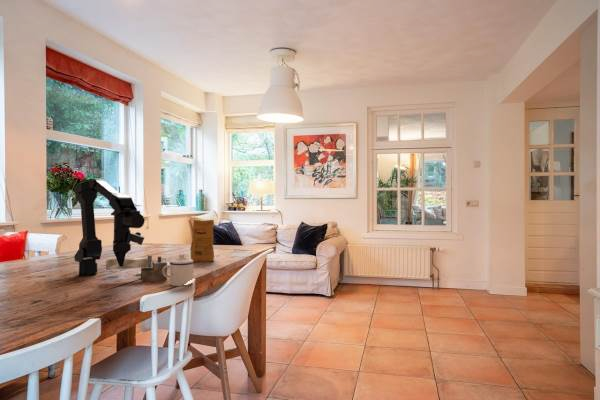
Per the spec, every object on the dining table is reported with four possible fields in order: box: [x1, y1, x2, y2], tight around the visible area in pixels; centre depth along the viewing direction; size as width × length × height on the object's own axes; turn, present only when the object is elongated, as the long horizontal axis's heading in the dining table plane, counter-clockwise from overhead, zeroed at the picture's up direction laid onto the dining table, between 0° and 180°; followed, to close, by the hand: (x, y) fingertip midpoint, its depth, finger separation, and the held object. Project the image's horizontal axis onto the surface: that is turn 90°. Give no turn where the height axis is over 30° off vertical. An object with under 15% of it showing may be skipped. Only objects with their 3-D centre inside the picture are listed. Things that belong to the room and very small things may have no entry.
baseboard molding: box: [133, 258, 171, 277], centre depth 183 cm, size 31×3×12 cm
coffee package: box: [190, 219, 215, 263], centre depth 208 cm, size 10×12×22 cm
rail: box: [105, 253, 153, 271], centre depth 158 cm, size 17×4×5 cm, turn 116°
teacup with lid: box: [163, 253, 195, 287], centre depth 153 cm, size 12×9×12 cm
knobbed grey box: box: [140, 255, 168, 282], centre depth 162 cm, size 9×9×9 cm
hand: (121, 265), depth 157 cm, fingers closed on rail, 4 cm apart
